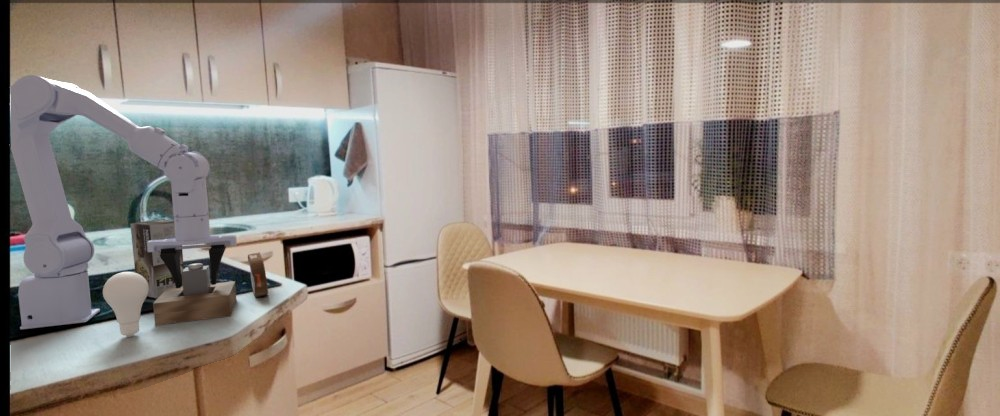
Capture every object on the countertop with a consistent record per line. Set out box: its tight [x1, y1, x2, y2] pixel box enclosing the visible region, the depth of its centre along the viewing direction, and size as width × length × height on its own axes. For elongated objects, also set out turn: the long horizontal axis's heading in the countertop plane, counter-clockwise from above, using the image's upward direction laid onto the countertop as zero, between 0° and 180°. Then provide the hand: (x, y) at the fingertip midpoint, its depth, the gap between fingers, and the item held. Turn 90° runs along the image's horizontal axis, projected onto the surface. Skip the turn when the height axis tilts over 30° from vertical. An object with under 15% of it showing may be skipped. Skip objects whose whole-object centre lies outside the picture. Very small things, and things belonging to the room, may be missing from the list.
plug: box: [182, 262, 211, 296], centre depth 98 cm, size 4×4×7 cm
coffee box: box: [130, 219, 185, 299], centre depth 112 cm, size 9×6×16 cm
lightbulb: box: [102, 271, 149, 338], centre depth 84 cm, size 6×6×11 cm
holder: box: [152, 280, 237, 326], centre depth 98 cm, size 12×12×4 cm
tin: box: [247, 252, 269, 298], centre depth 111 cm, size 15×3×8 cm, turn 29°
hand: (196, 285), depth 97 cm, fingers open, 5 cm apart
